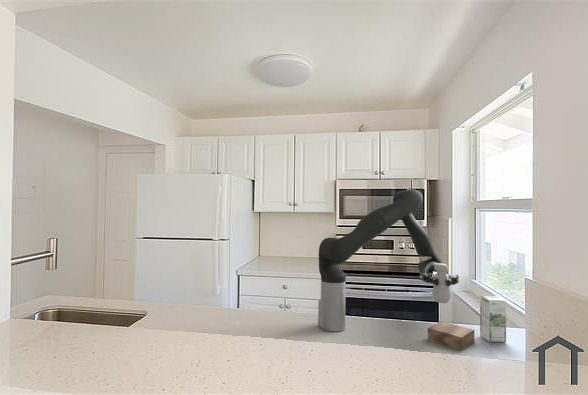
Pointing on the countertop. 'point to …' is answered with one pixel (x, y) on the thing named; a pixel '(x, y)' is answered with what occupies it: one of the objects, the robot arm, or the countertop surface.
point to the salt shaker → (441, 284)
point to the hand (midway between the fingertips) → (442, 282)
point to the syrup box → (493, 318)
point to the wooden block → (451, 335)
